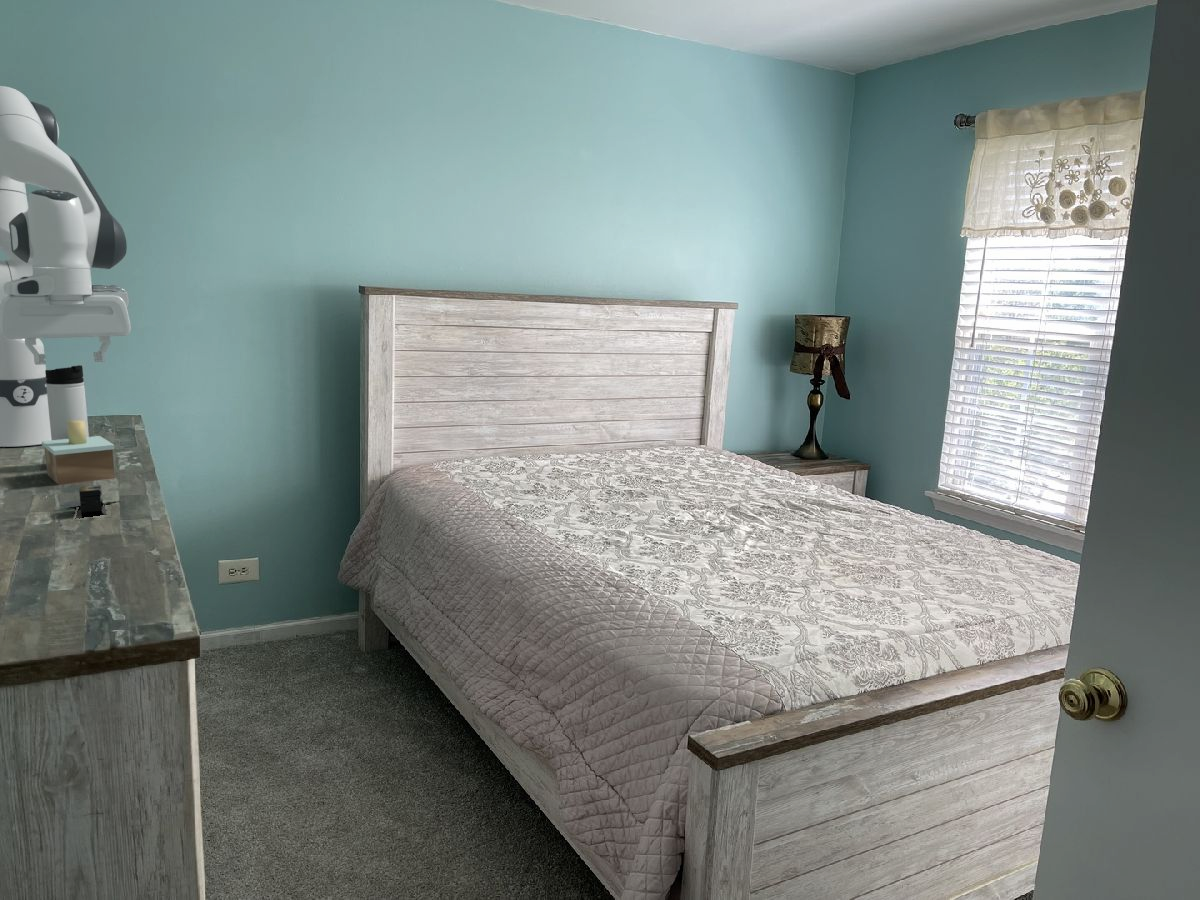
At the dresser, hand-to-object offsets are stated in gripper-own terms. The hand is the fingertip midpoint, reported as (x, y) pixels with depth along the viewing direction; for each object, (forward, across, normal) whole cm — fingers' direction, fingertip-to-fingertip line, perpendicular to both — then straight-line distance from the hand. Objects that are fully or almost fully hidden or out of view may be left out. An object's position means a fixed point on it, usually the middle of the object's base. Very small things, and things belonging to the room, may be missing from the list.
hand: (70, 363), depth 161 cm
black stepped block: (+22, +4, +25) cm, 34 cm away
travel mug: (+22, -1, -11) cm, 24 cm away
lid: (+15, 0, 0) cm, 16 cm away
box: (+22, 0, 0) cm, 22 cm away
